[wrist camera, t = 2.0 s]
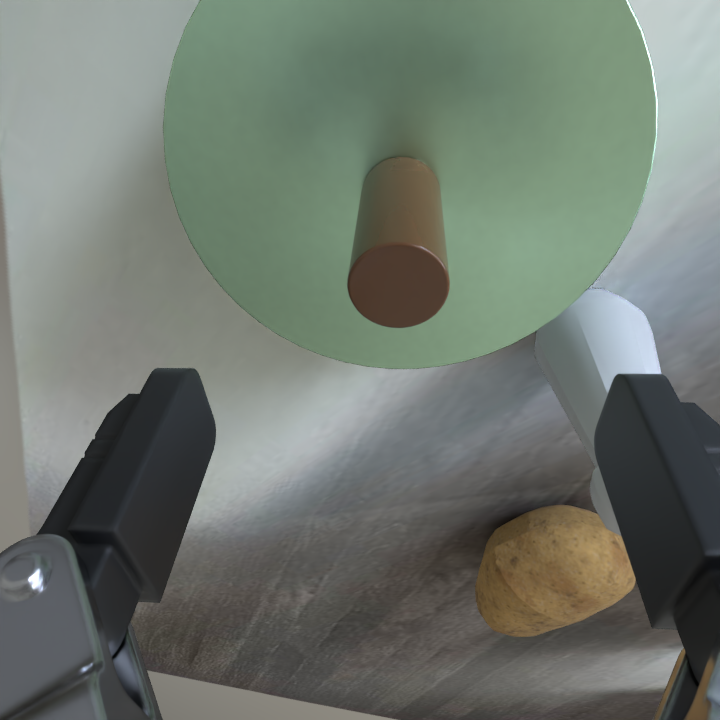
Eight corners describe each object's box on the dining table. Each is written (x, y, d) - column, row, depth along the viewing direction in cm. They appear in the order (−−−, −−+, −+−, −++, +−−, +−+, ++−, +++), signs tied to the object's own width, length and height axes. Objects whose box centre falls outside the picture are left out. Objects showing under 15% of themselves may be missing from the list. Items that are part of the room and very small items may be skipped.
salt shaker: (601, 253, 27) (707, 455, 18) (656, 318, 30) (775, 528, 20) (506, 315, 30) (552, 518, 21) (562, 370, 33) (627, 574, 23)
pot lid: (72, 37, 16) (-77, 104, 11) (618, -275, 12) (779, -398, 7) (302, 385, 26) (276, 507, 20) (659, 292, 21) (738, 420, 16)
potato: (438, 542, 47) (442, 637, 41) (546, 457, 38) (571, 562, 32) (527, 573, 49) (543, 668, 43) (647, 500, 41) (688, 605, 35)
